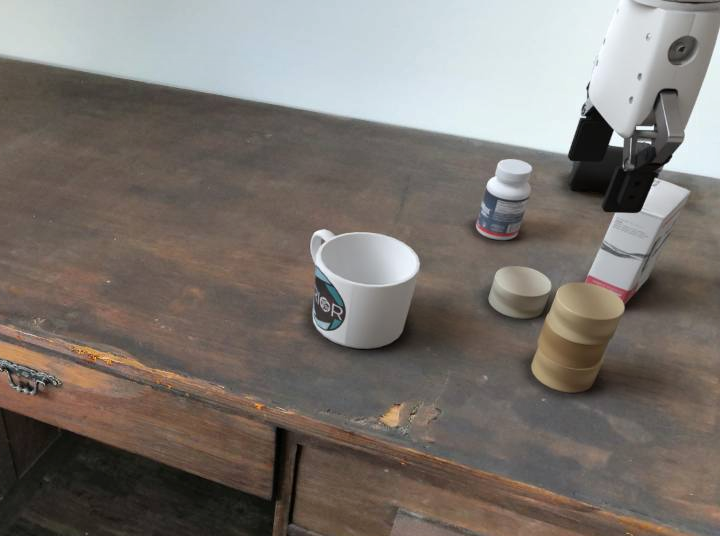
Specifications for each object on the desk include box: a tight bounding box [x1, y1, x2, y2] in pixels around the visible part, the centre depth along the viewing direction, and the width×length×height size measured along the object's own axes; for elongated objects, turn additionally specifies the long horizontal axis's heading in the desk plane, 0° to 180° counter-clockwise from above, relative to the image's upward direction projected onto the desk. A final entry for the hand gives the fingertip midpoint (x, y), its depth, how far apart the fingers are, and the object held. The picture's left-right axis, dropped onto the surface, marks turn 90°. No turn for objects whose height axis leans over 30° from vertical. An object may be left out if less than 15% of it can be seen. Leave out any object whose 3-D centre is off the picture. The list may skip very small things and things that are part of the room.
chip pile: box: [530, 312, 610, 394], centre depth 76 cm, size 6×6×6 cm
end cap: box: [567, 141, 660, 195], centre depth 105 cm, size 10×7×7 cm
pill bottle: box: [475, 158, 533, 241], centre depth 96 cm, size 5×5×9 cm
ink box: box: [584, 177, 692, 306], centre depth 86 cm, size 9×5×12 cm, turn 137°
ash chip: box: [488, 265, 553, 320], centre depth 86 cm, size 6×6×3 cm
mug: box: [309, 228, 421, 350], centre depth 83 cm, size 13×10×8 cm
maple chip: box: [547, 281, 626, 345], centre depth 73 cm, size 6×6×3 cm
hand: (601, 184), depth 70 cm, fingers open, 9 cm apart
